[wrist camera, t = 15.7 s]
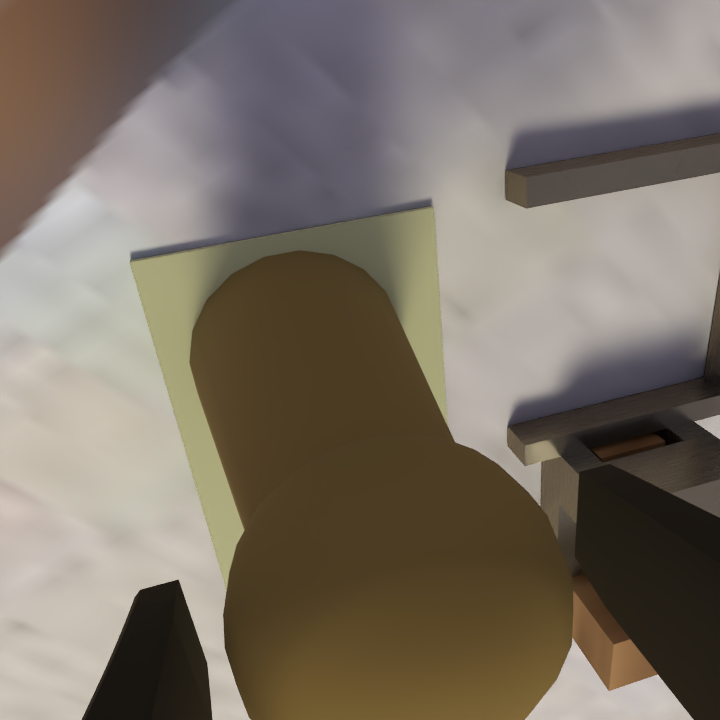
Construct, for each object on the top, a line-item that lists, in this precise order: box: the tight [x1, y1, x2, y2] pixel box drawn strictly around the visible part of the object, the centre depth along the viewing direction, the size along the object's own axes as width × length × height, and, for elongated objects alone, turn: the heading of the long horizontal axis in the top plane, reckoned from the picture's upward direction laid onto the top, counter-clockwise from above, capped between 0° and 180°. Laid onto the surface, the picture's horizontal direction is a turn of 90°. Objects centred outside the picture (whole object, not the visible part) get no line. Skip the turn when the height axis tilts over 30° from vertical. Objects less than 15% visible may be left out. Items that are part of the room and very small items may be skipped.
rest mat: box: [130, 206, 447, 589], centre depth 19 cm, size 8×14×1 cm, turn 7°
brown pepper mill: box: [189, 250, 573, 720], centre depth 13 cm, size 6×6×11 cm
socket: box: [506, 133, 720, 577], centre depth 19 cm, size 8×15×4 cm, turn 7°
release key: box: [572, 432, 665, 691], centre depth 22 cm, size 4×8×4 cm, turn 7°
